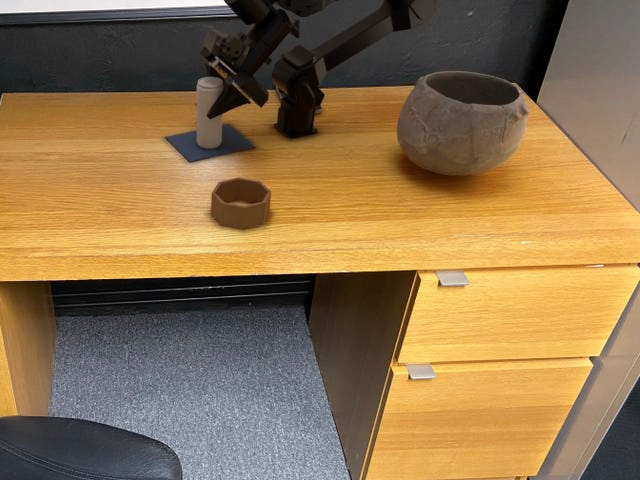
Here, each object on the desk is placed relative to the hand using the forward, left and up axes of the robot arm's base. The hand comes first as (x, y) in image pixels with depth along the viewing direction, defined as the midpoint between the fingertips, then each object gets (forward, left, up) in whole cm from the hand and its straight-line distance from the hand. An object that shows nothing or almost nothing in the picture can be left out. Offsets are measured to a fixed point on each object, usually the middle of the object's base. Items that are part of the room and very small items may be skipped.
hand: (202, 112), depth 128 cm
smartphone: (-28, -11, -7) cm, 31 cm away
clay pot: (-37, +26, -7) cm, 46 cm away
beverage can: (-1, 0, -7) cm, 7 cm away
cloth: (-2, -1, -7) cm, 7 cm away
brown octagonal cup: (+5, +24, -7) cm, 25 cm away
